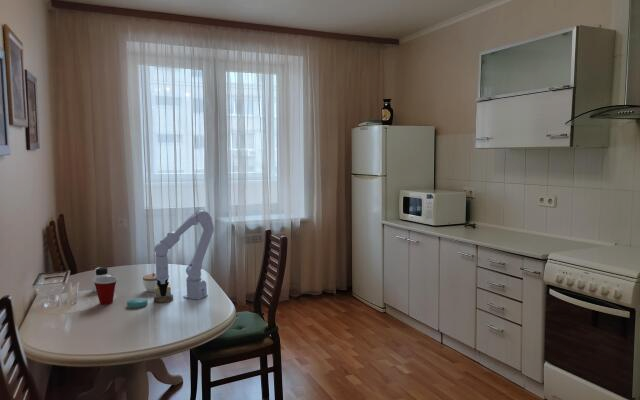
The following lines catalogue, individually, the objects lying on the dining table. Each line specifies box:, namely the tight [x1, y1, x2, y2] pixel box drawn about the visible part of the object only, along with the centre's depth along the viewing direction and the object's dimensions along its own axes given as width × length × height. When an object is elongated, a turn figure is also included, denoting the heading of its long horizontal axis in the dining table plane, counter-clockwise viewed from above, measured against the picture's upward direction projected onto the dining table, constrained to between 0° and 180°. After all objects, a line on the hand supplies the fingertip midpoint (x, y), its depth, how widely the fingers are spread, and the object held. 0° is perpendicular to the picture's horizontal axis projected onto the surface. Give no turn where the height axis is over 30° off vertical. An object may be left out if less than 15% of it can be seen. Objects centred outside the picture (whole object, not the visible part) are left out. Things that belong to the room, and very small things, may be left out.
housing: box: [155, 284, 172, 298], centre depth 232 cm, size 7×4×5 cm, turn 109°
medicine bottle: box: [91, 266, 112, 292], centre depth 252 cm, size 7×7×12 cm
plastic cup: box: [93, 276, 118, 306], centre depth 229 cm, size 11×11×12 cm
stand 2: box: [153, 293, 174, 304], centre depth 233 cm, size 9×9×2 cm
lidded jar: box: [142, 272, 158, 293], centre depth 249 cm, size 11×11×9 cm
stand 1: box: [126, 297, 148, 310], centre depth 225 cm, size 9×9×2 cm
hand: (163, 294), depth 232 cm, fingers closed on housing, 4 cm apart
